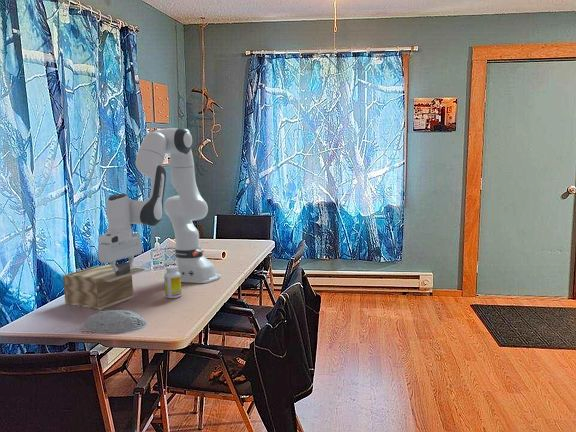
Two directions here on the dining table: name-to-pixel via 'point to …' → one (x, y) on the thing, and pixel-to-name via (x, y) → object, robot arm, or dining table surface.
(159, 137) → the robot arm
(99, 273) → the lid
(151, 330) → the dining table surface
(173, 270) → the supplement bottle
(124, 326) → the grey oval stone
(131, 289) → the wooden box
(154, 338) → the dining table surface
